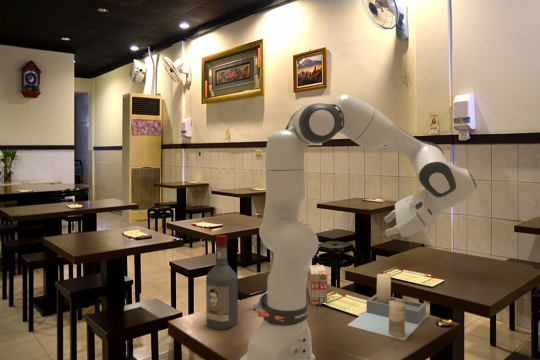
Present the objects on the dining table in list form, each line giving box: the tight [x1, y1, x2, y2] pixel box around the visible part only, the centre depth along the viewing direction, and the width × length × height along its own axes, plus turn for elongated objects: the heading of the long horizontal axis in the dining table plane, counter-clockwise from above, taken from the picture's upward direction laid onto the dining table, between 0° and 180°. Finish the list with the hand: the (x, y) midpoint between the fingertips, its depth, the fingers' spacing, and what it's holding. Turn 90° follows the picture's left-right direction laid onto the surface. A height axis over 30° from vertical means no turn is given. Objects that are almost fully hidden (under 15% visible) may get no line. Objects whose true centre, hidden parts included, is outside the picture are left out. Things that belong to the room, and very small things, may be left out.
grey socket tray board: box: [347, 273, 428, 341], centre depth 141 cm, size 24×19×14 cm
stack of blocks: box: [306, 264, 328, 306], centre depth 169 cm, size 21×6×12 cm, turn 179°
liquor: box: [205, 234, 239, 331], centre depth 140 cm, size 9×9×30 cm
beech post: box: [389, 300, 405, 337], centre depth 130 cm, size 5×5×10 cm
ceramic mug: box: [253, 290, 267, 311], centre depth 154 cm, size 11×8×8 cm
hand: (385, 226), depth 135 cm, fingers open, 8 cm apart
